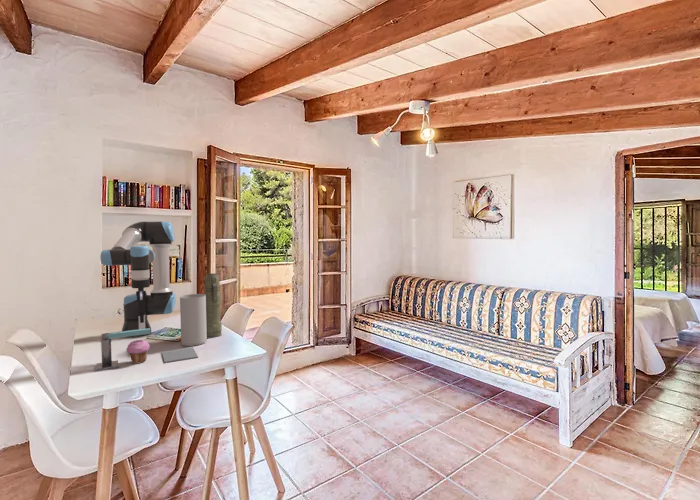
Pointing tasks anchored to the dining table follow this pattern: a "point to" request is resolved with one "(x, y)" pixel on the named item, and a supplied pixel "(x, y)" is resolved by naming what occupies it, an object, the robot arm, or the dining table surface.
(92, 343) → the dining table surface
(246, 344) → the dining table surface
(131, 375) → the dining table surface
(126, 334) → the bar
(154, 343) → the dining table surface
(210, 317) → the thermos
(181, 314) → the cylinder vase
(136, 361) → the cupcake
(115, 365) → the post
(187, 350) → the rubber mat
